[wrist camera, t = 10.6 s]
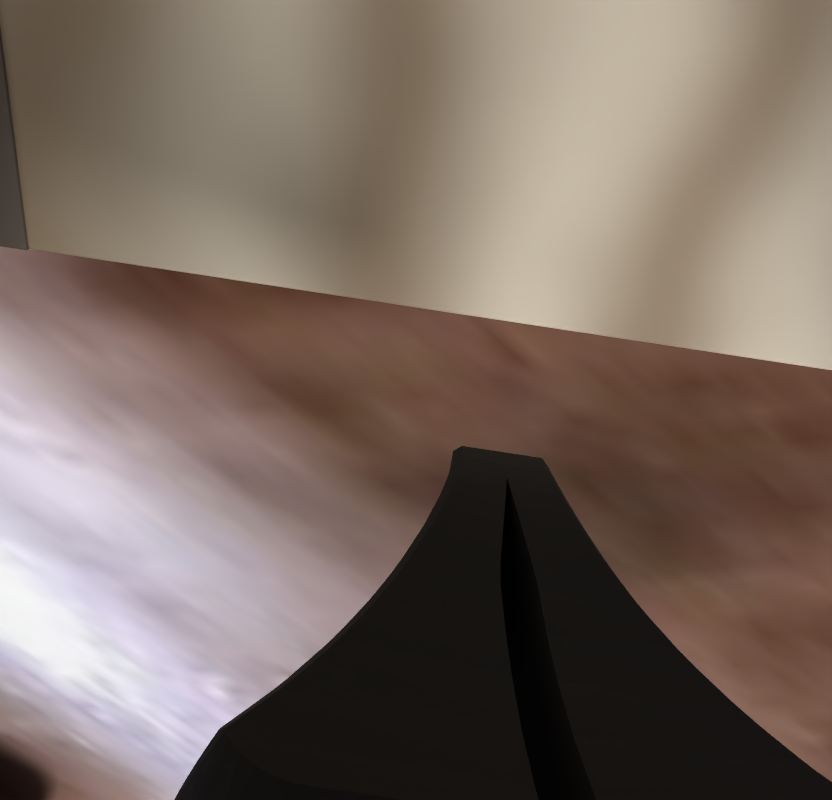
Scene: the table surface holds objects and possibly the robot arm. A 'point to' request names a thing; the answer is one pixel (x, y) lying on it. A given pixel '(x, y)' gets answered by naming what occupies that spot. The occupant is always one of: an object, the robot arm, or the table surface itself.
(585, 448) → the table surface
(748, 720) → the robot arm
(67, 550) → the table surface
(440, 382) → the table surface
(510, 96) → the maple board
